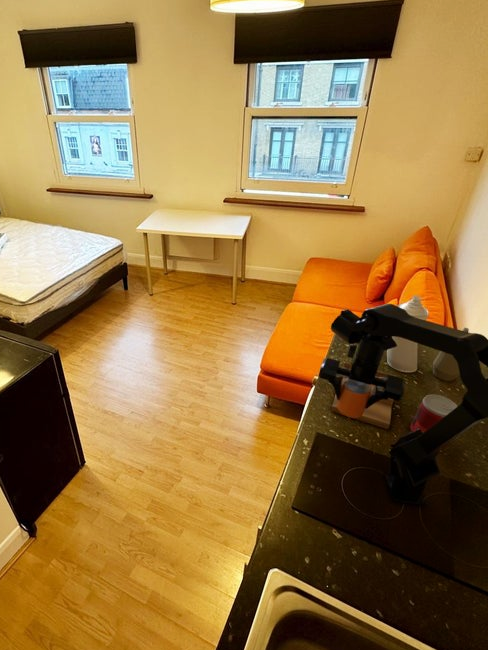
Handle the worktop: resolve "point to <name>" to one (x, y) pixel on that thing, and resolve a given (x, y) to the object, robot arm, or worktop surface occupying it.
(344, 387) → the orange tin
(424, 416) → the canned food
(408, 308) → the spray can
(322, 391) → the worktop surface
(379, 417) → the spice shelf
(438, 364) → the squeeze bottle
